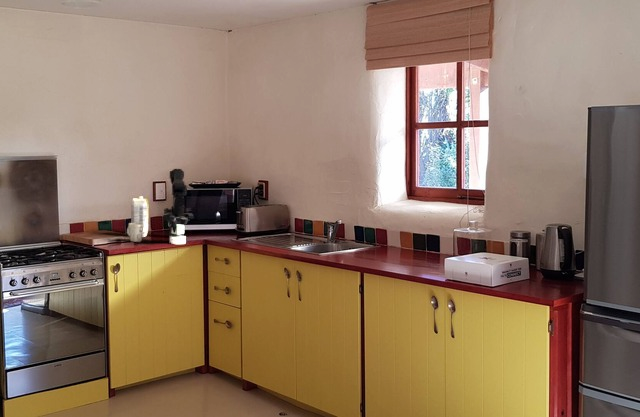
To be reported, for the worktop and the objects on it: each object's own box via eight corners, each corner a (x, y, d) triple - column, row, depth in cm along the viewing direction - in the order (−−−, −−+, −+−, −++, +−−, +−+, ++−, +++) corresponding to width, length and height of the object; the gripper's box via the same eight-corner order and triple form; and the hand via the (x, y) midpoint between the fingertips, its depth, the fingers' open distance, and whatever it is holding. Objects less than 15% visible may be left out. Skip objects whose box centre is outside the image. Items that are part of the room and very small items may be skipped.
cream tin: (178, 241, 435) (178, 234, 434) (188, 243, 429) (189, 236, 429) (166, 243, 428) (166, 236, 427) (176, 245, 422) (177, 238, 422)
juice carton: (148, 235, 452) (149, 196, 449) (146, 237, 444) (146, 197, 441) (133, 235, 452) (133, 195, 449) (130, 237, 444) (130, 196, 441)
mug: (134, 242, 424) (135, 225, 423) (120, 239, 431) (120, 222, 430) (146, 241, 430) (146, 224, 429) (132, 238, 438) (132, 221, 437)
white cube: (178, 232, 431) (178, 224, 431) (184, 233, 428) (184, 225, 428) (171, 233, 427) (171, 224, 427) (177, 234, 424) (177, 225, 424)
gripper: (181, 202, 438) (180, 228, 440) (156, 204, 424) (155, 231, 425) (194, 204, 431) (193, 231, 433) (169, 206, 417) (168, 233, 418)
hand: (177, 231), depth 428 cm, fingers closed on white cube, 5 cm apart
